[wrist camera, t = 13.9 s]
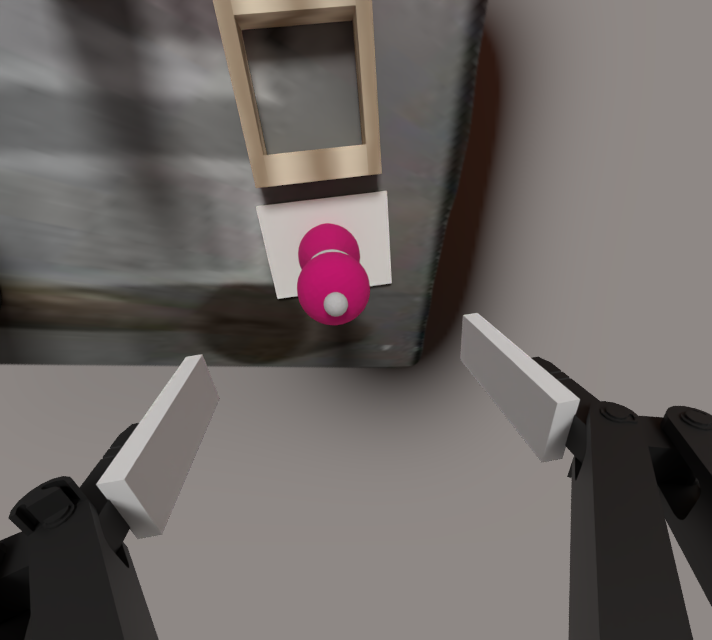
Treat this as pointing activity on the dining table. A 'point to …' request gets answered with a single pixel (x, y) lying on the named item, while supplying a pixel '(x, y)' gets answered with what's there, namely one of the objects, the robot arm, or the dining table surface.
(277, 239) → the plastic pad
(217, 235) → the dining table surface
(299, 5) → the maple frame
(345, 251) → the pepper mill
